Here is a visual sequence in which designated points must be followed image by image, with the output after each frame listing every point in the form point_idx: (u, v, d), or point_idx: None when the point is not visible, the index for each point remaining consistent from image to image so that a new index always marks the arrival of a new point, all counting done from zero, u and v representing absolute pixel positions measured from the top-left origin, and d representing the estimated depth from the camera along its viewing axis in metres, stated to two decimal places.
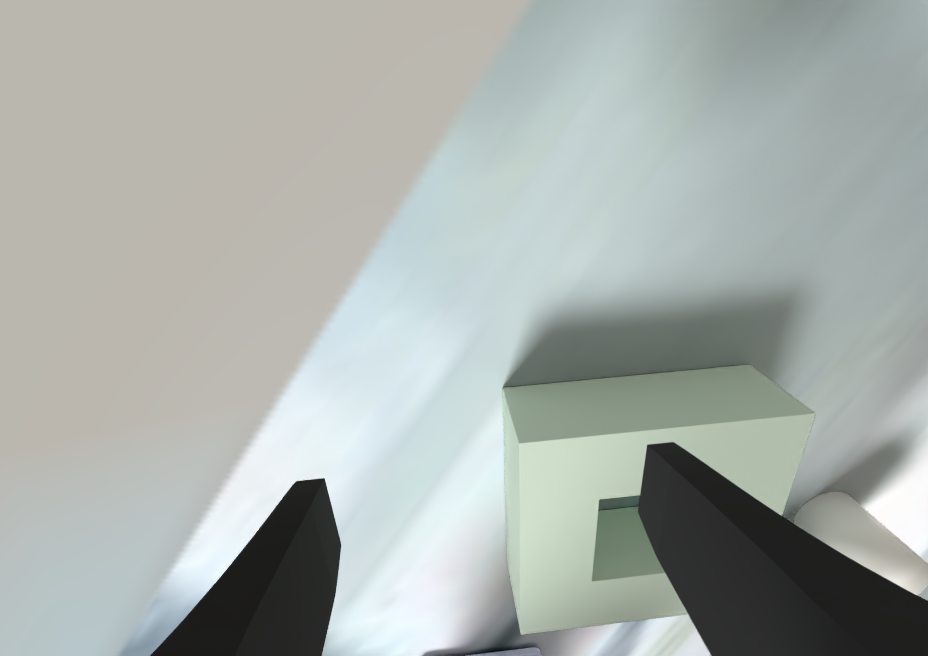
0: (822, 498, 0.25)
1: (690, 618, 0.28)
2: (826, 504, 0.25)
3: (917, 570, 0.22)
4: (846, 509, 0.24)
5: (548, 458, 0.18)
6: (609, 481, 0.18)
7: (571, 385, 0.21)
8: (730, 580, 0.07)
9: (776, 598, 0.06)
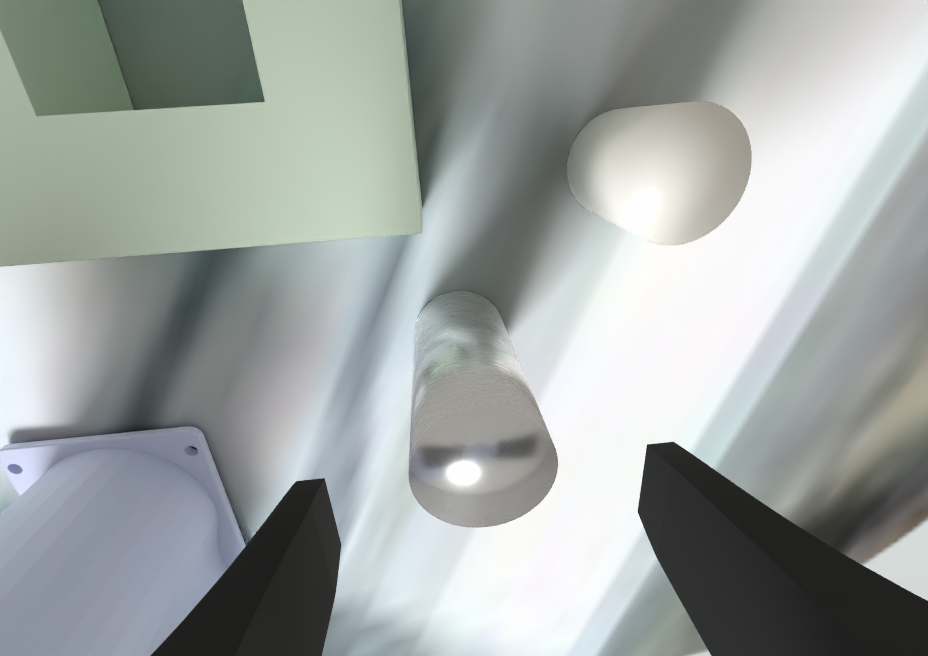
0: (602, 114, 0.15)
1: None
2: (603, 116, 0.14)
3: (717, 135, 0.11)
4: (629, 108, 0.14)
5: None
6: None
7: None
8: (730, 580, 0.07)
9: (776, 598, 0.06)
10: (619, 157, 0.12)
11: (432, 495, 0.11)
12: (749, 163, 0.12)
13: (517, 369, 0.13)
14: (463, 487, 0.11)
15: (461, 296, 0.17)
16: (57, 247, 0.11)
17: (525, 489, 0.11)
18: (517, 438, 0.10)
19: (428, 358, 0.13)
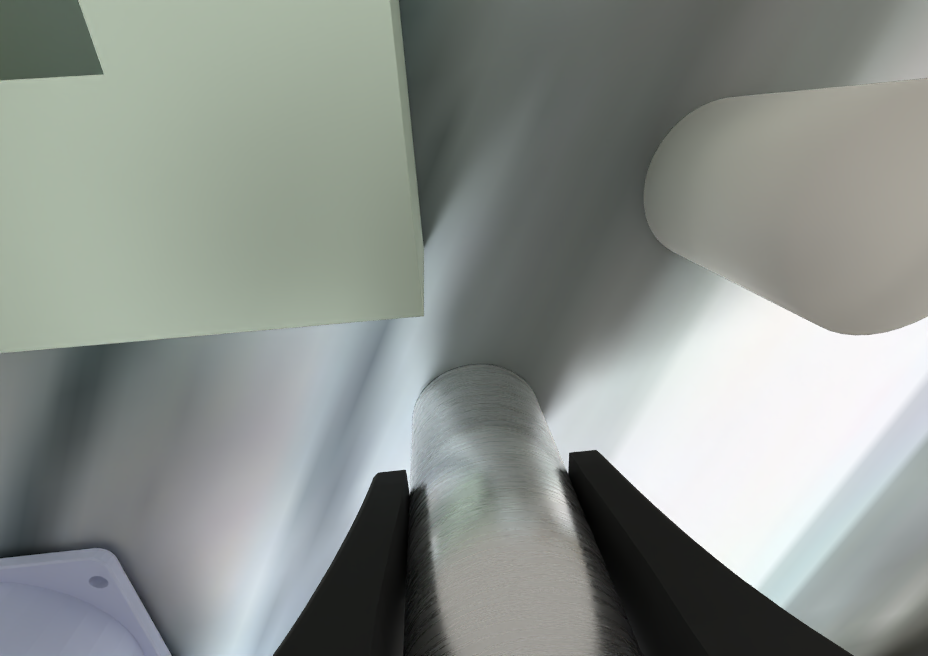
0: (706, 106, 0.09)
1: None
2: (712, 108, 0.09)
3: None
4: (762, 95, 0.08)
5: None
6: None
7: None
8: (629, 592, 0.07)
9: (659, 612, 0.06)
10: (794, 183, 0.06)
11: None
12: None
13: (589, 547, 0.07)
14: None
15: (481, 376, 0.11)
16: None
17: None
18: None
19: (434, 518, 0.08)
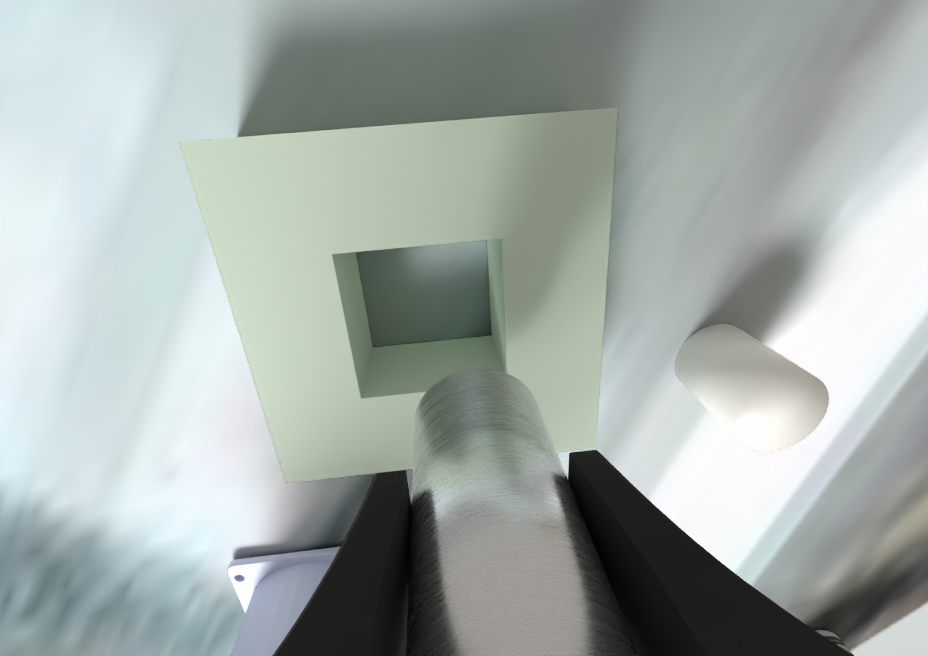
0: (705, 330, 0.20)
1: None
2: (708, 335, 0.20)
3: (806, 390, 0.16)
4: (730, 336, 0.19)
5: (232, 172, 0.12)
6: (337, 221, 0.13)
7: None
8: (629, 593, 0.07)
9: (659, 612, 0.06)
10: (738, 402, 0.17)
11: None
12: (826, 404, 0.17)
13: (578, 544, 0.07)
14: None
15: (473, 381, 0.11)
16: (352, 468, 0.17)
17: None
18: None
19: (428, 527, 0.08)
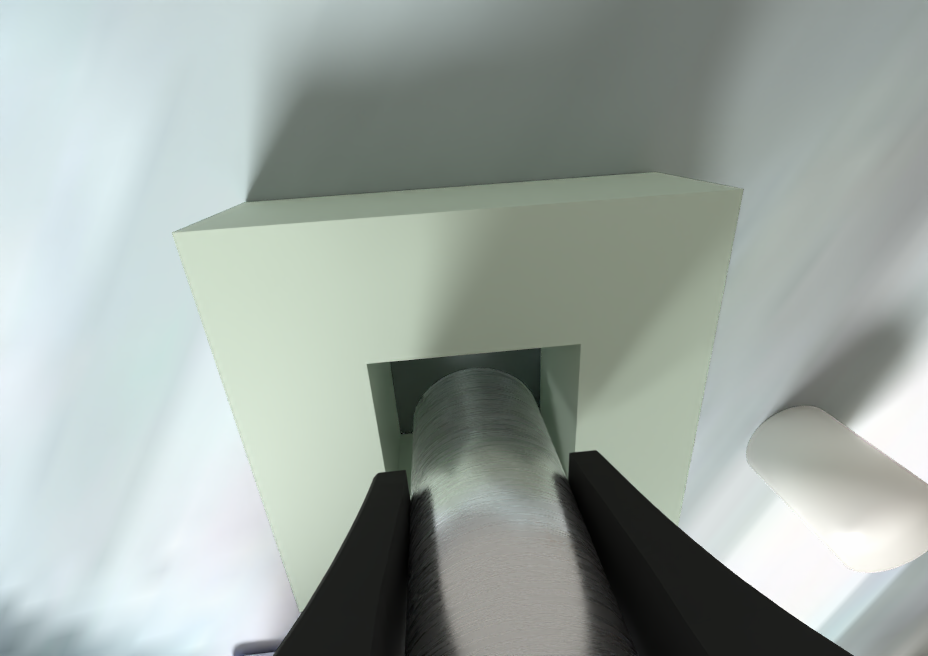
0: (786, 414, 0.17)
1: None
2: (791, 422, 0.17)
3: None
4: (820, 426, 0.16)
5: (242, 269, 0.09)
6: (375, 326, 0.10)
7: (355, 195, 0.12)
8: (629, 593, 0.07)
9: (659, 612, 0.06)
10: (844, 521, 0.14)
11: None
12: None
13: (577, 543, 0.07)
14: None
15: (472, 380, 0.11)
16: None
17: None
18: None
19: (427, 527, 0.08)
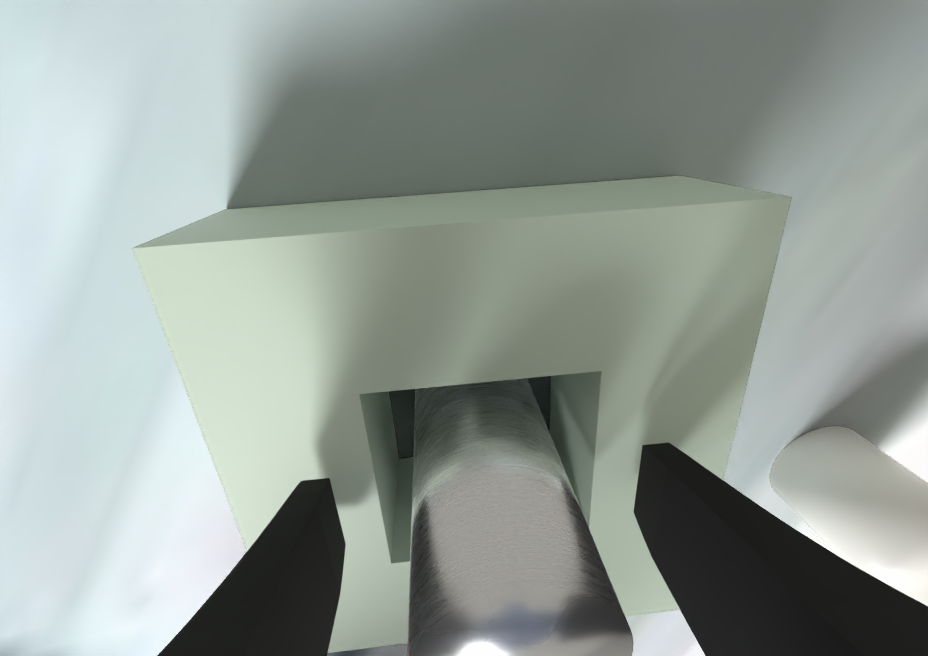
0: (814, 436, 0.16)
1: None
2: (820, 444, 0.16)
3: None
4: (852, 450, 0.15)
5: (215, 289, 0.08)
6: (369, 352, 0.09)
7: (348, 202, 0.11)
8: (724, 581, 0.07)
9: (769, 599, 0.06)
10: (885, 558, 0.13)
11: None
12: None
13: (552, 471, 0.09)
14: None
15: None
16: (376, 639, 0.13)
17: None
18: (567, 619, 0.07)
19: (428, 462, 0.10)
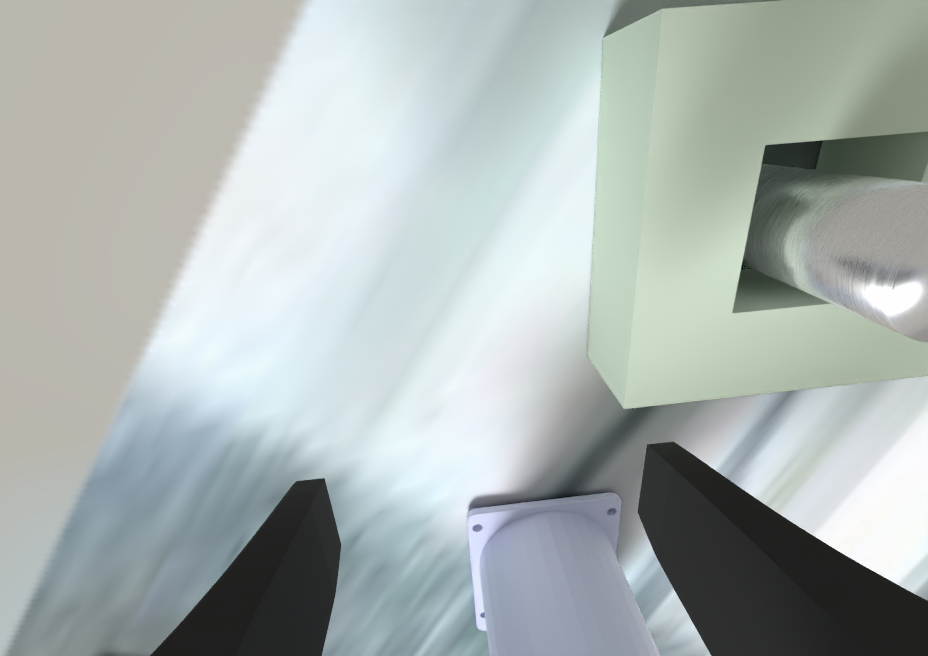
0: None
1: None
2: None
3: None
4: None
5: (702, 46, 0.11)
6: (785, 106, 0.12)
7: None
8: (730, 580, 0.07)
9: (776, 598, 0.06)
10: None
11: (908, 306, 0.10)
12: None
13: None
14: None
15: (762, 165, 0.16)
16: (694, 392, 0.16)
17: None
18: None
19: (809, 200, 0.13)
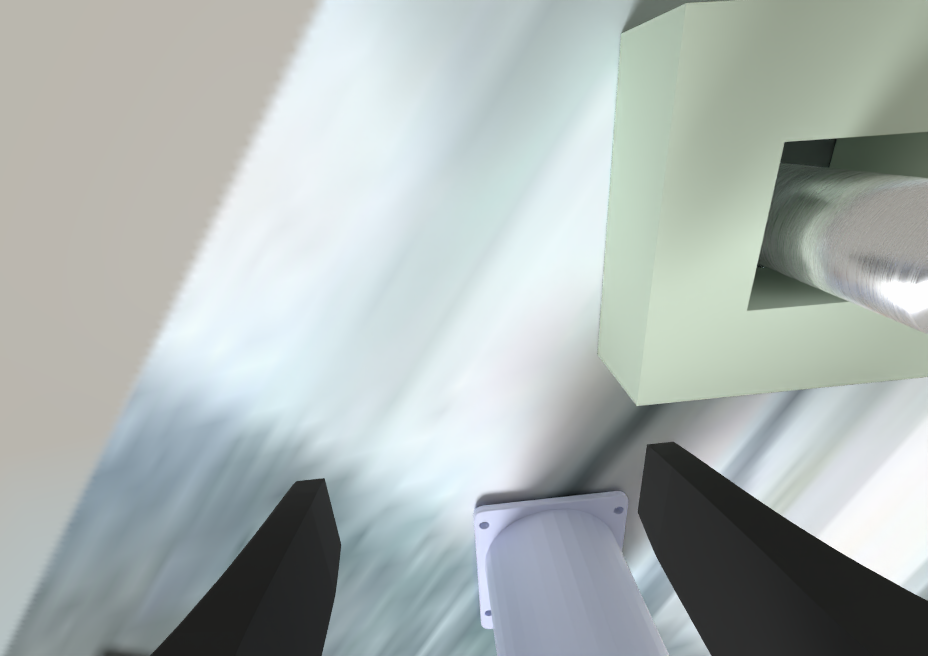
0: None
1: None
2: None
3: None
4: None
5: (725, 41, 0.11)
6: (805, 103, 0.12)
7: None
8: (730, 580, 0.07)
9: (776, 598, 0.06)
10: None
11: None
12: None
13: None
14: None
15: None
16: (707, 390, 0.16)
17: None
18: None
19: (828, 198, 0.13)
